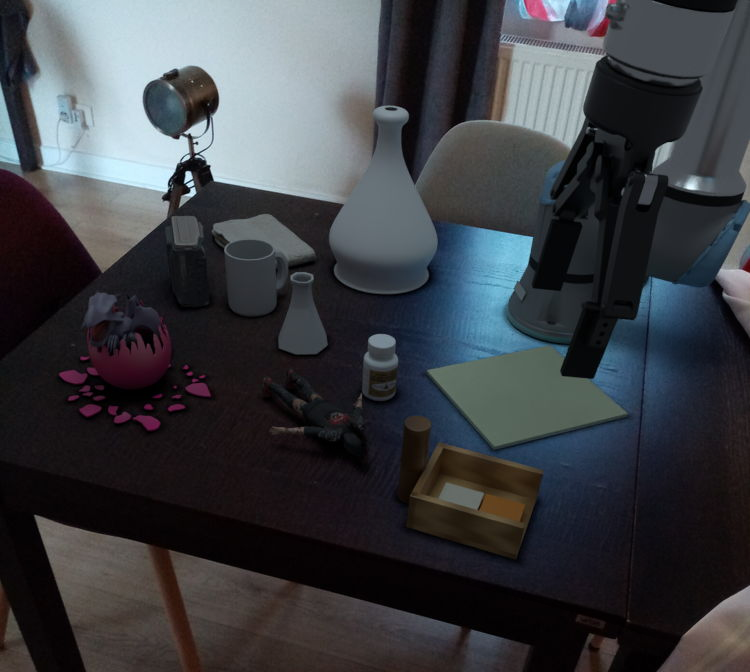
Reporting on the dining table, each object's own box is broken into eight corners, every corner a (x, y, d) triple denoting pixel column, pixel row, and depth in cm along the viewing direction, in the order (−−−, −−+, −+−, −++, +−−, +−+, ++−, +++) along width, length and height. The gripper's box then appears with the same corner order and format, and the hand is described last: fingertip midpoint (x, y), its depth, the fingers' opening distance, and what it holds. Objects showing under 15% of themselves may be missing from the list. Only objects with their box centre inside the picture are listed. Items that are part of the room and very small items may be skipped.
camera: (211, 308, 117) (205, 244, 110) (171, 310, 115) (163, 245, 109) (207, 274, 125) (201, 212, 118) (170, 276, 124) (162, 213, 117)
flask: (321, 360, 107) (321, 293, 101) (270, 352, 108) (267, 285, 102) (333, 334, 113) (335, 269, 106) (285, 327, 114) (283, 262, 107)
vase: (315, 287, 123) (315, 117, 107) (344, 243, 136) (348, 86, 120) (423, 304, 121) (440, 133, 104) (442, 258, 134) (460, 100, 117)
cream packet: (483, 500, 86) (484, 492, 85) (475, 519, 84) (476, 510, 83) (444, 490, 87) (446, 482, 86) (436, 507, 85) (437, 499, 84)
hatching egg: (39, 373, 102) (13, 276, 93) (152, 335, 110) (138, 242, 101) (113, 448, 91) (91, 346, 82) (232, 399, 99) (224, 302, 90)
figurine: (320, 342, 101) (418, 412, 89) (321, 381, 105) (415, 453, 93) (228, 372, 95) (321, 452, 83) (233, 413, 98) (322, 495, 86)
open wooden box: (536, 500, 88) (554, 429, 81) (516, 560, 81) (534, 486, 74) (412, 466, 91) (420, 395, 84) (382, 520, 84) (388, 446, 77)
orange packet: (523, 512, 85) (525, 504, 84) (517, 531, 83) (519, 522, 82) (484, 501, 86) (486, 493, 85) (477, 519, 84) (478, 511, 83)
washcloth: (268, 224, 141) (267, 207, 139) (319, 263, 130) (319, 245, 128) (207, 237, 135) (205, 219, 133) (255, 278, 125) (254, 260, 122)
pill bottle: (371, 405, 100) (374, 352, 95) (356, 387, 103) (358, 335, 98) (401, 397, 102) (406, 345, 96) (385, 380, 104) (389, 329, 99)
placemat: (549, 348, 113) (549, 344, 113) (626, 417, 101) (628, 413, 101) (426, 373, 106) (426, 369, 106) (493, 450, 94) (494, 446, 94)
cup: (219, 302, 118) (214, 245, 112) (275, 286, 123) (273, 230, 117) (245, 322, 114) (241, 264, 108) (301, 304, 119) (300, 248, 113)
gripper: (563, 8, 62) (498, 253, 77) (650, 129, 45) (545, 415, 60) (653, 22, 63) (571, 261, 78) (772, 145, 46) (638, 423, 61)
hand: (560, 328), depth 69 cm, fingers open, 13 cm apart
